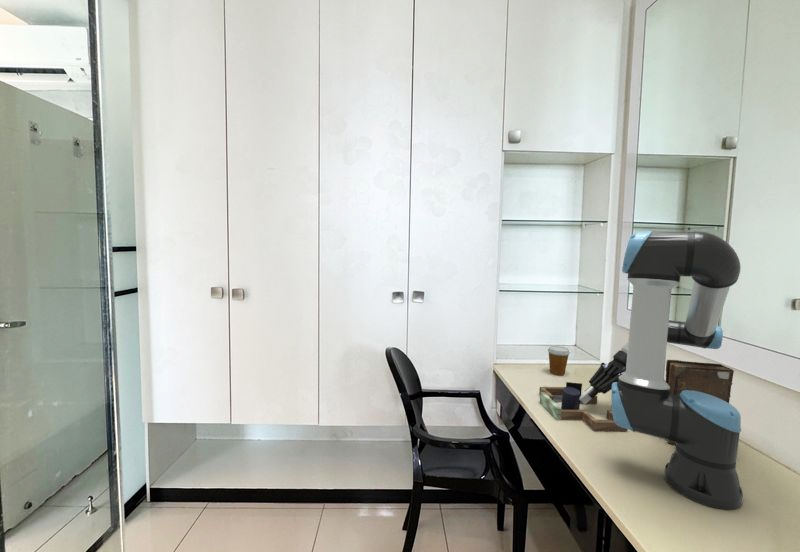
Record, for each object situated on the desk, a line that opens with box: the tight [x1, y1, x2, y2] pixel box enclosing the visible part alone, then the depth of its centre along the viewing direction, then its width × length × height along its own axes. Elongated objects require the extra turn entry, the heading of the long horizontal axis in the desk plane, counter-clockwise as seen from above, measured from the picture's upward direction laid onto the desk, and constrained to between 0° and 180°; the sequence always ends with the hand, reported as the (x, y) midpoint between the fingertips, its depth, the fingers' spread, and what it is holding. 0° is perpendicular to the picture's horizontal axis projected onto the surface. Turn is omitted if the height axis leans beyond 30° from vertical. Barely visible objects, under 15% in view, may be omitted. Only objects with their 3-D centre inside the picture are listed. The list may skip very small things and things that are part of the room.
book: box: [665, 359, 735, 445], centre depth 112 cm, size 17×7×25 cm, turn 75°
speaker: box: [560, 381, 583, 410], centre depth 132 cm, size 8×6×10 cm
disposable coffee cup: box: [547, 345, 571, 377], centre depth 171 cm, size 10×10×12 cm
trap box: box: [538, 386, 629, 432], centre depth 133 cm, size 29×22×4 cm
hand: (581, 401), depth 133 cm, fingers closed
